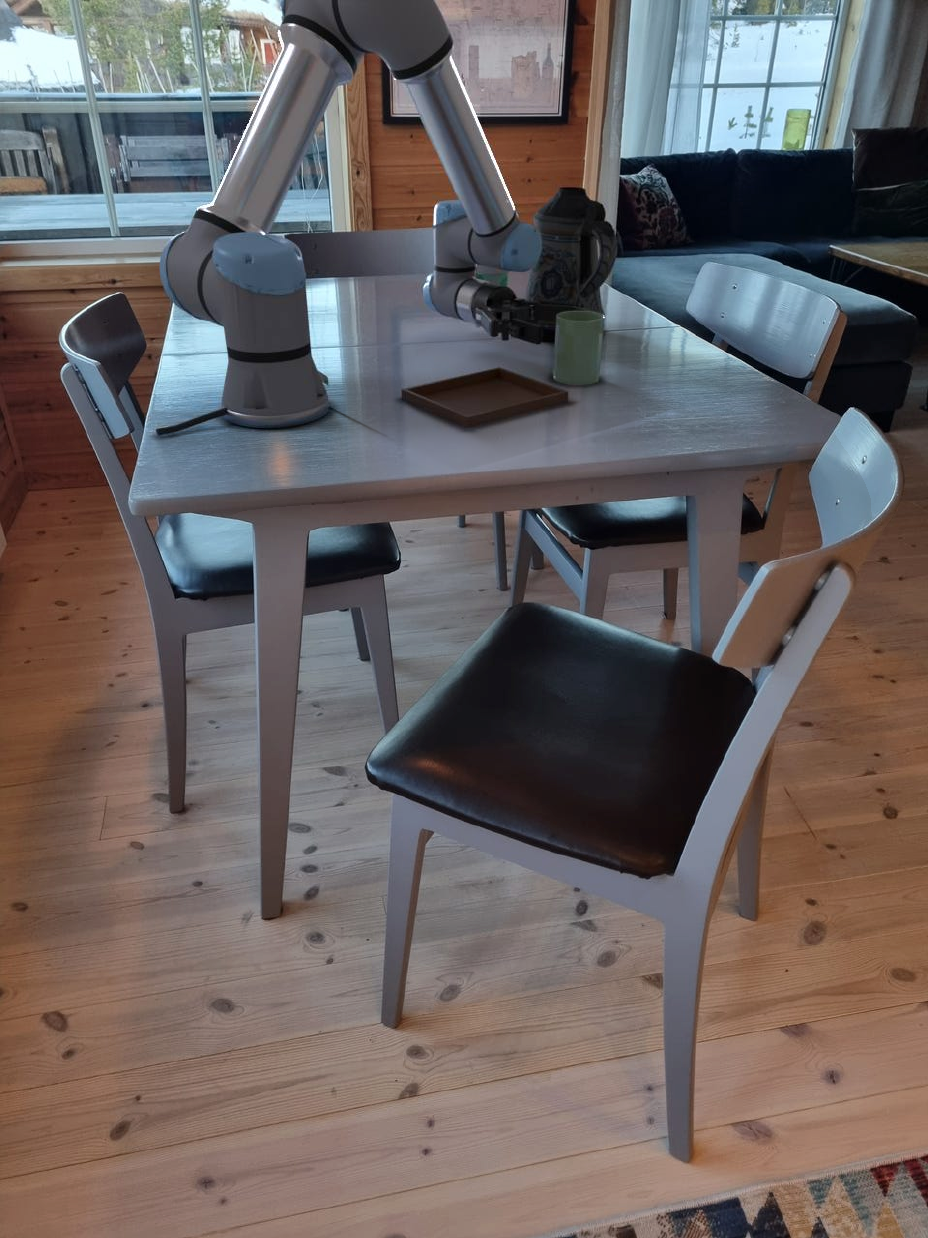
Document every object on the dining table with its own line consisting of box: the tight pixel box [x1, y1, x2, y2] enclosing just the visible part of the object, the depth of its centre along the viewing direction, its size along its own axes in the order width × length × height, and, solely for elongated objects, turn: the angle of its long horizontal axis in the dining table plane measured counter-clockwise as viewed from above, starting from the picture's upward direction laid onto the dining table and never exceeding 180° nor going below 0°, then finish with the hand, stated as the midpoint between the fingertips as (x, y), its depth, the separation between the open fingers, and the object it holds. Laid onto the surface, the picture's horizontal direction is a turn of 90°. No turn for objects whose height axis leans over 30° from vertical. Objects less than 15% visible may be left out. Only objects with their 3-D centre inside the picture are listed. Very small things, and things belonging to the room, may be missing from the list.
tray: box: [400, 367, 569, 429], centre depth 131 cm, size 19×16×2 cm
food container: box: [476, 264, 510, 287], centre depth 182 cm, size 12×6×10 cm, turn 168°
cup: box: [552, 311, 605, 386], centre depth 139 cm, size 7×7×10 cm
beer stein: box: [523, 186, 618, 343], centre depth 161 cm, size 16×19×25 cm
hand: (572, 328), depth 138 cm, fingers open, 13 cm apart
